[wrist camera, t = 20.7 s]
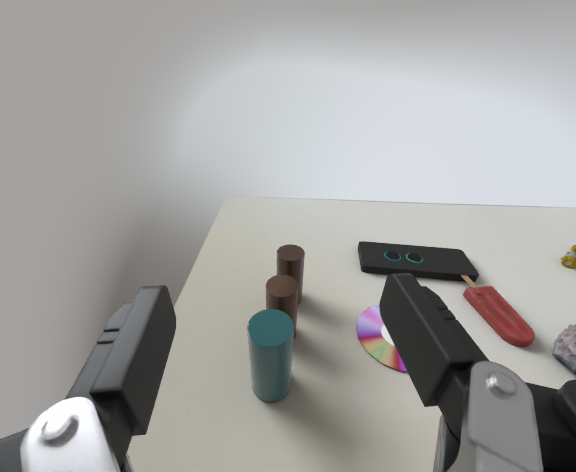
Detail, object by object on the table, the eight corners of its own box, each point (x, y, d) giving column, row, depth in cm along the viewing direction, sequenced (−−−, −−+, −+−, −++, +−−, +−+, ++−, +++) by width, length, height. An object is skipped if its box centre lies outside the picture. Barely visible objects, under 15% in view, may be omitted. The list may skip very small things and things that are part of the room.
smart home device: (358, 240, 56) (461, 248, 55) (357, 247, 57) (458, 255, 56) (363, 265, 49) (481, 275, 48) (361, 272, 50) (477, 283, 49)
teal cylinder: (247, 398, 31) (241, 342, 26) (257, 361, 35) (254, 306, 30) (287, 406, 31) (289, 350, 25) (293, 367, 35) (296, 312, 29)
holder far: (274, 305, 43) (274, 259, 38) (279, 287, 47) (279, 243, 42) (300, 308, 43) (302, 262, 38) (302, 290, 46) (305, 246, 41)
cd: (347, 306, 43) (347, 306, 43) (416, 302, 44) (416, 302, 44) (371, 375, 34) (371, 375, 34) (458, 369, 35) (458, 368, 35)
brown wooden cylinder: (264, 343, 37) (262, 294, 33) (270, 319, 41) (269, 272, 36) (293, 347, 37) (296, 299, 32) (297, 323, 40) (300, 276, 35)
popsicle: (471, 264, 49) (544, 338, 37) (467, 272, 50) (537, 346, 38) (448, 266, 49) (514, 341, 37) (444, 273, 50) (508, 349, 38)
